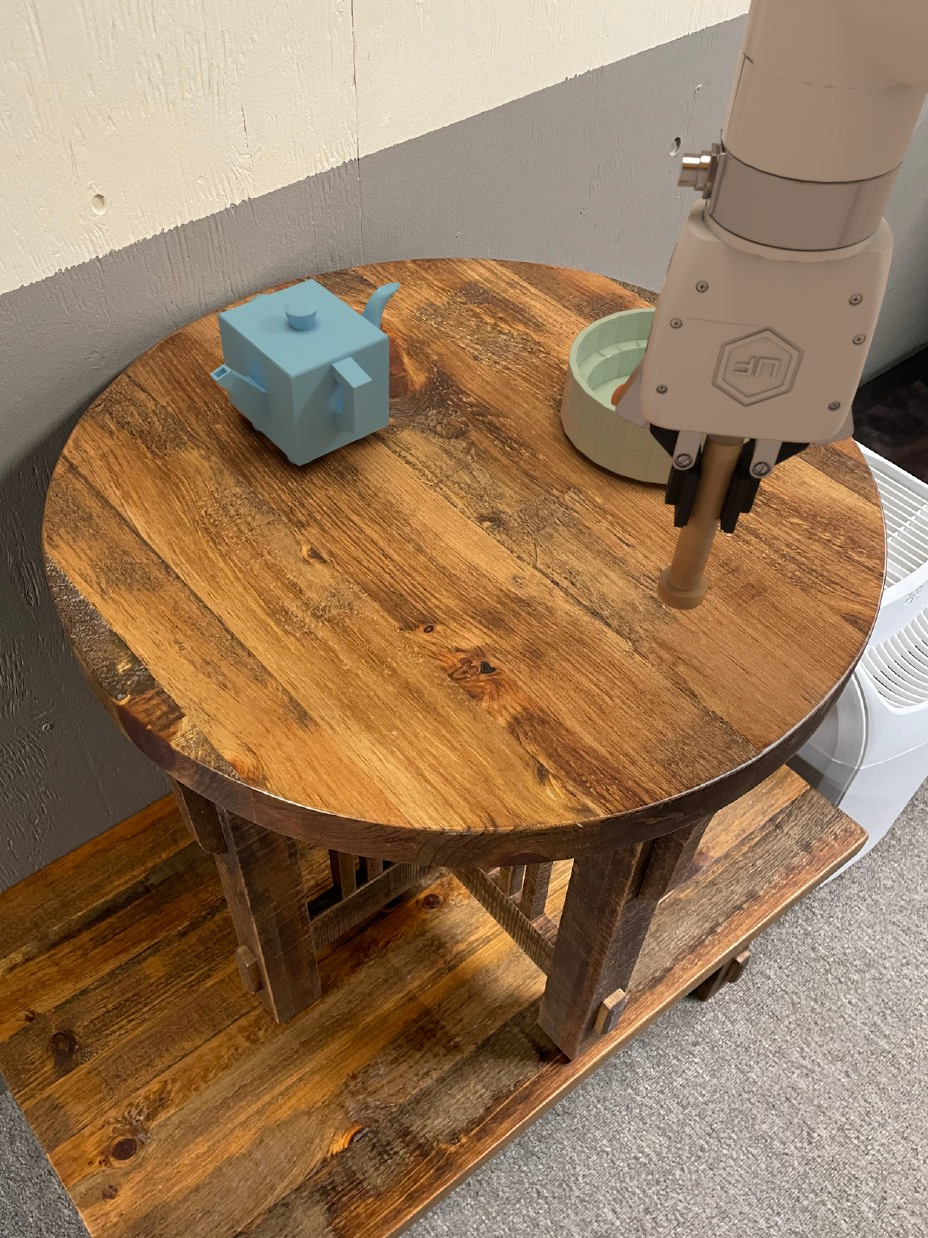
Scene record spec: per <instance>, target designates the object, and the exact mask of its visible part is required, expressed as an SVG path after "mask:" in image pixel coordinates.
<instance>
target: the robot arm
mask: <svg viewBox="0 0 928 1238" xmlns="http://www.w3.org/2000/svg"><path fill="white" fill-rule="evenodd" d="M927 95H928V0H750V4H749V8H748V12H747V16H746V21H745V26H744V30H743V35H742V39H741V44H740V47H739V53H738V58H737V61H736V67H735V71H734V76H733V81H732V86H731V91H730V95H729V99H728V104H727V109H726V113H725V118H724V122H723V127H722V128H720V129H719V134H718V138H717V142H712V143H711V144H710V148H709V150H706V149H705V150H704V149H700V152H699V153H694V152H682V156H681V160H680V166H679V171H678V177H677V187H683V188H693V191H694V192H701V196H700V198H698V199H697V200H696V201H695V202H694V203H693V204H692V205H691V207H690V209H689V212H688V213H687V216H686V219H685V220H684V223H683V225H682V227H681V231H680V233H679V235H678V237H677V240H676V242H675V245H674V248H673V252H672V254H671V257H670V260H669V262H668V266H667V268H666V271H665V275H664V278H663V281H662V284H661V288H660V292H659V295H658V299H657V301H656V306H655V308H656V309H655V313H654V317H653V320H652V324H651V328H650V332H649V336H648V341H647V345H646V350H645V356H644V357H643V359H642V360H641V361H640V363H639V364H638V366H637V367H636V369H635V370H634V371H633V373H632V374H631V376H630V377H629V378H628V380H627V381H626V383H625V384H624V385H623V387H622V388H621V390H620V391H619V393H618V394H617V397H616V406H615V413H616V415H617V416H619V417H620V418H622V419H624V420H626V421H628V422H630V423H632V424H634V425H636V426H638V427H640V428H642V429H643V428H646V429H648V430H650V433H651V435H652V436H653V437H654V438H655V439H656V440H657V441H658V443H659V444H660V445H661V446H662V447H663V448H664V449H665V451H666V452H667V453H668V454H669V455H670V456H671V457H672V466H671V470H670V474H669V478H668V482H667V484H666V486H665V493H664V505H666V506H673V507H674V510H673V528H679V529H681V528H683V527H684V526H687V524H688V521H689V517H690V514H691V510H692V507H693V503H694V499H695V496H696V492H697V489H698V485H699V482H700V478H701V461H700V457H701V447H702V446H701V445H700V442H701V438H702V435H703V433H704V434H713V435H722V436H732V437H742V438H749V439H748V442H746V443H744V444H743V447H742V450H741V453H740V456H739V460H738V463H737V466H736V469H735V472H734V475H733V479H732V482H731V485H730V488H729V492H728V495H727V498H726V501H725V505H724V508H723V511H722V514H721V517H720V521H719V530H720V531H723V533H724V534H731V535H732V534H734V532H735V530H736V528H737V527H736V526H737V525H738V524H737V523H738V521H739V517H740V515H741V514H748V515H749V514H750V513H751V511H752V508H753V505H754V502H755V499H756V496H757V493H758V491H759V487H760V484H761V482H762V479H764V478H767V477H768V476H770V475H771V474H772V472H773V471H774V469H775V467H776V466H777V465H779V464H781V463H783V462H785V461H786V460H788V459H791V458H792V457H794V456H796V455H798V454H800V453H801V452H803V451H805V450H806V449H808V447H810V446H814V447H818V446H822V445H828V444H832V443H837V442H842V441H846V440H848V439H850V438H852V436H853V434H854V433H855V432H854V431H855V427H854V417H853V409H852V405H853V401H854V400H855V399H854V398H855V396H856V393H857V390H858V387H859V384H860V380H861V378H862V375H863V370H864V368H865V364H866V361H867V357H868V355H869V351H870V348H871V344H872V341H873V338H874V334H875V330H876V328H877V324H878V320H879V316H880V312H881V308H882V305H883V301H884V297H885V294H886V288H887V284H888V280H889V279H888V278H889V274H890V269H891V265H892V258H893V253H894V244H895V237H894V234H893V232H892V230H891V228H890V225H889V223H888V221H887V220H886V219H885V217H884V214H885V211H886V208H887V206H888V203H889V200H890V197H891V195H892V192H893V189H894V187H895V183H896V181H897V178H898V175H899V172H900V170H901V167H902V164H903V161H904V159H905V156H906V153H907V149H908V147H909V144H910V142H911V139H912V136H913V133H914V131H915V128H916V125H917V122H918V120H919V116H920V115H921V111H922V108H923V105H924V103H925V100H926V97H927Z"/></svg>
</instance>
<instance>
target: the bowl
mask: <svg viewBox="0 0 928 1238" xmlns="http://www.w3.org/2000/svg"><path fill="white" fill-rule="evenodd" d="M655 309H656V307H639V308H638V307H637V308H632V309H627V310H622V311H616V312H614V313H612V314H608V315H606V316H604V317H600V318H598V319H596V320H595V321H592V323H590V324H589V325H587V326H586V327H585V328H583V329H582V330H580V332H579V333H578V334H577V336H576V337H575V338H574V340H573V342H572V343H571V345H570V349H569V356H568V360H567V361H568V362H567V367H566V368H567V369H566V373H565V374H566V375H565V379H564V386H563V394H562V399H561V406H560V411H559V417H560V420H561V424H562V428H563V431H564V433H565V434H566V436H567V437H568V438H569V440H570V441H571V443H572V444H573V446H574V447H575V448H576V449H577V450H579V451H580V452H581V453H582V454H583V455H585V456H586V457H587V458H588V459H590V460H591V461H592V462H593V463H595V464H597V465H598V466H601V467H603V468H605V469H607V470H609V471H611V472H613V473H615V474H617V475H620V476H623V477H627V478H630V479H633V480H636V481H640V482H644V483H645V482H646V483H653V484H654V483H655V484H661V485H667V482H668V478H669V474H670V470H671V466H672V457H671V456H670V455H669V454H668V453H667V452H666V451H665V449H664V448H663V447H662V446H661V445H660V444H659V443H658V441H657V440H656V439H655V438H654V437H653V436H652V435H651V433H650V430H648V429H646V428H643V429H642V428H640V427H638V426H636V425H634V424H632V423H630V422H628V421H626V420H624V419H622V418H620V417H619V416H617V415H616V413H615V406H614V405H612V404H611V398H612V395H613V393H614V391H615V390H616V389H617V388H618V387H619V386H620V385H622V384H624V383H626V381H627V380H628V378H629V377H630V376H631V374H632V373H633V371H634V370H635V369H636V367H637V366H638V364H639V363H640V361H641V360H642V359H643V357H644V356H645V350H646V345H647V341H648V336H649V332H650V328H651V324H652V320H653V317H654V313H655ZM706 435H707V434H704V433H703V435H702V438H701V442H700V445H701V446H702V447H701V453H702V450H703V446H704V442H705V439H706ZM748 439H749V438H745V440H744V443H746V442H748ZM744 443H743V444H744Z"/></svg>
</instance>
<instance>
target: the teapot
mask: <svg viewBox="0 0 928 1238" xmlns="http://www.w3.org/2000/svg"><path fill="white" fill-rule="evenodd" d="M400 287H401V283H400V282H395V281H394V282H389V283H386V284H384V285H382V286H380V287H378V288H377V289H376V290H375V291H374V292H373V293H372V294H371V295H370V296H369V299H368V300H367V302H366V304H365V306H364V309H363V311H362V313H361V314H360V313H359V312H357V311H356V310H355V309H354V308H352V307H351V306H350V305H348V303H346V302H344V301H343V300H342V299H340V298H339V297H338V296H336V295H335V294H334V293H332V292H331V291H329V289H327V288H326V287H324V286H323V285H322V284H320V283H319V282H317V281H316V280H315V279H313V278H310V279H308V280H306V281H302V282H300V283H297V284H294V285H292V286H289V287H286V288H284V289H281V290H277V291H275V292H273V293H270V294H268V293H261V294H258V295H256V296H254V297H252V298H251V299H250V301H249V302H246V303H243V304H241V305H239V306H236V307H234V308H231V309H228V310H226V311H222V312H219V313H218V314H217V322H218V328H219V334H220V335H219V336H220V341H221V348H222V356H223V361H224V363H223V364H221V365H220V366H219V367H218V368H216V369H215V370H214V371H212V372H210V374H209V377H211V378H212V380H214V381H215V382H216V383H217V384H218V385H219V386H221V387H222V388H223V389H225V390H226V391H227V392H228V394H229V395H228V396H229V402H230V404H231V405H232V406H234V408H236V409H237V410H238V411H239V412H240V413H241V414H242V415H243V416H244V417H245V418H246V419H247V420H248V421H250V423H252V428H254V429H255V430H256V431H259V432H261V433H262V434H264V435H265V436H266V438H268V439H269V440H270V441H271V442H272V443H273V444H274V445H275V446H276V447H277V448H278V449H280V450H281V451H282V452H283V453H284V454H285V456H287V460H288V461H289V462H290V463H292V464H294V465H295V464H296V466H298V467H300V466H303V465H306V464H309V463H311V462H312V461H313V460H315V459H318V458H320V457H322V456H324V455H326V454H329V453H330V452H333V451H335V450H338V449H340V448H342V447H344V446H347V445H349V444H351V443H353V442H355V441H357V440H362V439H364V438H365V437H366V436H368V435H371V434H373V433H375V432H377V431H379V430H382V429H383V428H384V429H385V428H386V427H388V426H390V338H389V336H388V334H386V333H385V332H383V331H382V330H381V324H382V319H383V315H384V311H385V308H386V306H387V304H388V302H389V300H390V299H391V298H392V297H393V296H394V294H396V292H398V290H399V289H400Z"/></svg>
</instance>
